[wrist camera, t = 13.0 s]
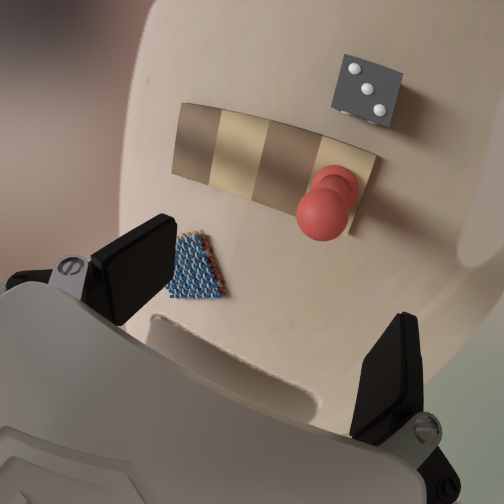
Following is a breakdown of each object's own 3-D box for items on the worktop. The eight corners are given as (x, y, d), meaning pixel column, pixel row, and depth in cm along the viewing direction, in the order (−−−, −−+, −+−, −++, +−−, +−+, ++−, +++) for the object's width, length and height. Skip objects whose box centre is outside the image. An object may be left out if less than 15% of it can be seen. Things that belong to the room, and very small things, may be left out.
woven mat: (231, 294, 40) (225, 302, 39) (177, 295, 45) (170, 301, 43) (207, 226, 37) (199, 232, 35) (153, 237, 42) (145, 242, 40)
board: (187, 102, 29) (181, 103, 28) (376, 154, 24) (376, 155, 23) (177, 171, 34) (171, 173, 33) (347, 232, 29) (346, 236, 28)
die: (348, 65, 21) (344, 53, 17) (397, 82, 20) (403, 73, 16) (336, 111, 24) (330, 108, 20) (384, 128, 23) (388, 129, 19)
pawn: (320, 158, 26) (295, 179, 17) (364, 175, 25) (363, 205, 16) (307, 199, 28) (277, 240, 20) (349, 216, 27) (338, 265, 19)
